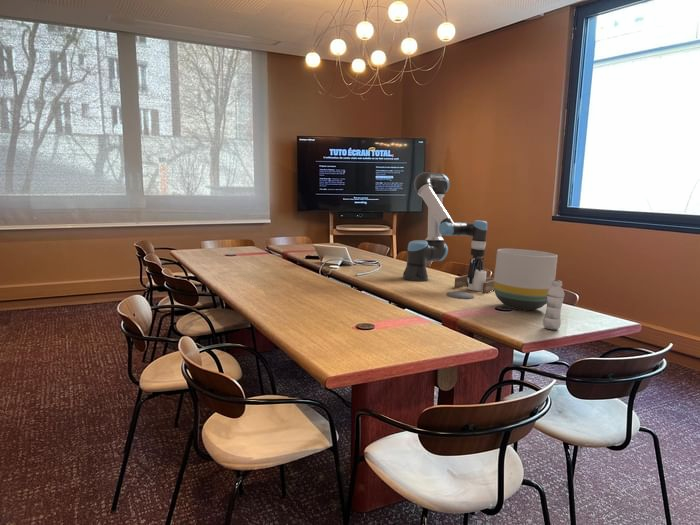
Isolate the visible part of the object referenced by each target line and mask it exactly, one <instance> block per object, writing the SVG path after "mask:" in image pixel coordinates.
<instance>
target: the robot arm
mask: <svg viewBox="0 0 700 525" xmlns="http://www.w3.org/2000/svg"><path fill="white" fill-rule="evenodd" d="M413 182H414V183H413V184H414V185H413V186H414V190H415V192H416V194H417V195H418V196H419V197H421V198H422V200H423V201H424V203H425V205H426V206H427V208H428V209H427V212H428V213H427V214H428V215H427V237H426V238H425V239H423V240H422V239H416V240H411V241H409V242H408V245H407V252H406V253H407V258H406V267H405V269H404V271H403V274H402V279H404V280H407V281H414V282H425V281H426V282H427V281H428V280H429V279H428V278H429V275H428V272H427V262H441V261H443V260H445V259H446V257H447V256H448V253H449V247H448V245H447V243H446V242H445V239H444V238H443V236H444V237H445V236H446V237H455V236H456V237H471V245H470V246H471V248H470V255H471V256H472V258H470V259H469V266H468V271H467V275H468V276H467V277H468V278H469V284H468V287H467V289H468V290H470V291H474V290H473V286H474V274H475V271H476V270H479V271H481V270H484V256H485V253H486V250H485V249H486V245H487V235H488V222H487V220H477V219H476V220H474V221H473V223H471V222H467V221H461V222H455V221H454V220H453V219H452V217H451V216H450V214H449V212H448V210H446V208H445V206H444V205H443V198H444V197H445V196H446V193H447V192H448V191H449V189H450V179H449V178H448V176H447V175H446V174H443V173H439V172H426V171H424V172H420V173H419V174H417V176H416V177H415V179H414V181H413Z"/></svg>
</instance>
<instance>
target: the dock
mask: <svg viewBox="0 0 700 525" xmlns="http://www.w3.org/2000/svg"><path fill="white" fill-rule="evenodd" d="M467 276H468V274H465V275H460V276H457V277H454V286H453V288H454V289H456V290H457V289H460V287H461V288H464V287H467V286H466V285H468V281H467ZM468 280H469V278H468ZM463 286H464V287H463ZM492 290H494V277H487V276H486V282H484V283H483V291H482V294H483V293H486V294H488V293H487V292H489V293H491V292H490V291H492ZM492 292H493V291H492Z"/></svg>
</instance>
